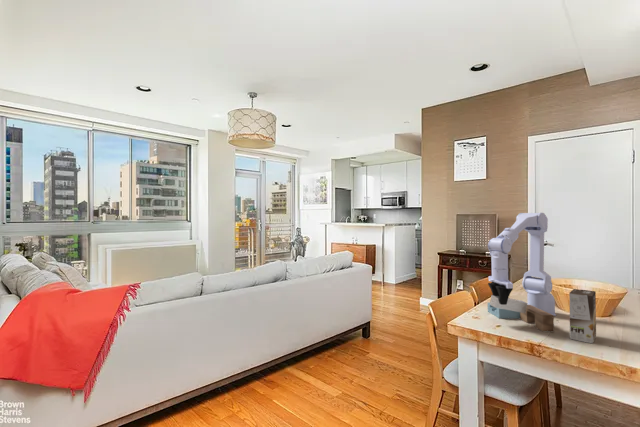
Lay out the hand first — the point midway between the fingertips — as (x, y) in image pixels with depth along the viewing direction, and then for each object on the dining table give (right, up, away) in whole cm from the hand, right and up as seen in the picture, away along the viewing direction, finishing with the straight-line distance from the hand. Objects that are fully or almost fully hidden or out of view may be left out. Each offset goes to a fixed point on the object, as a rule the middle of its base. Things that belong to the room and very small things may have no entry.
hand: (500, 302), depth 128 cm
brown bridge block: (+13, -8, -2) cm, 16 cm away
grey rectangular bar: (+3, 0, 0) cm, 3 cm away
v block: (+8, -8, +11) cm, 16 cm away
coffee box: (+21, -8, -15) cm, 27 cm away
